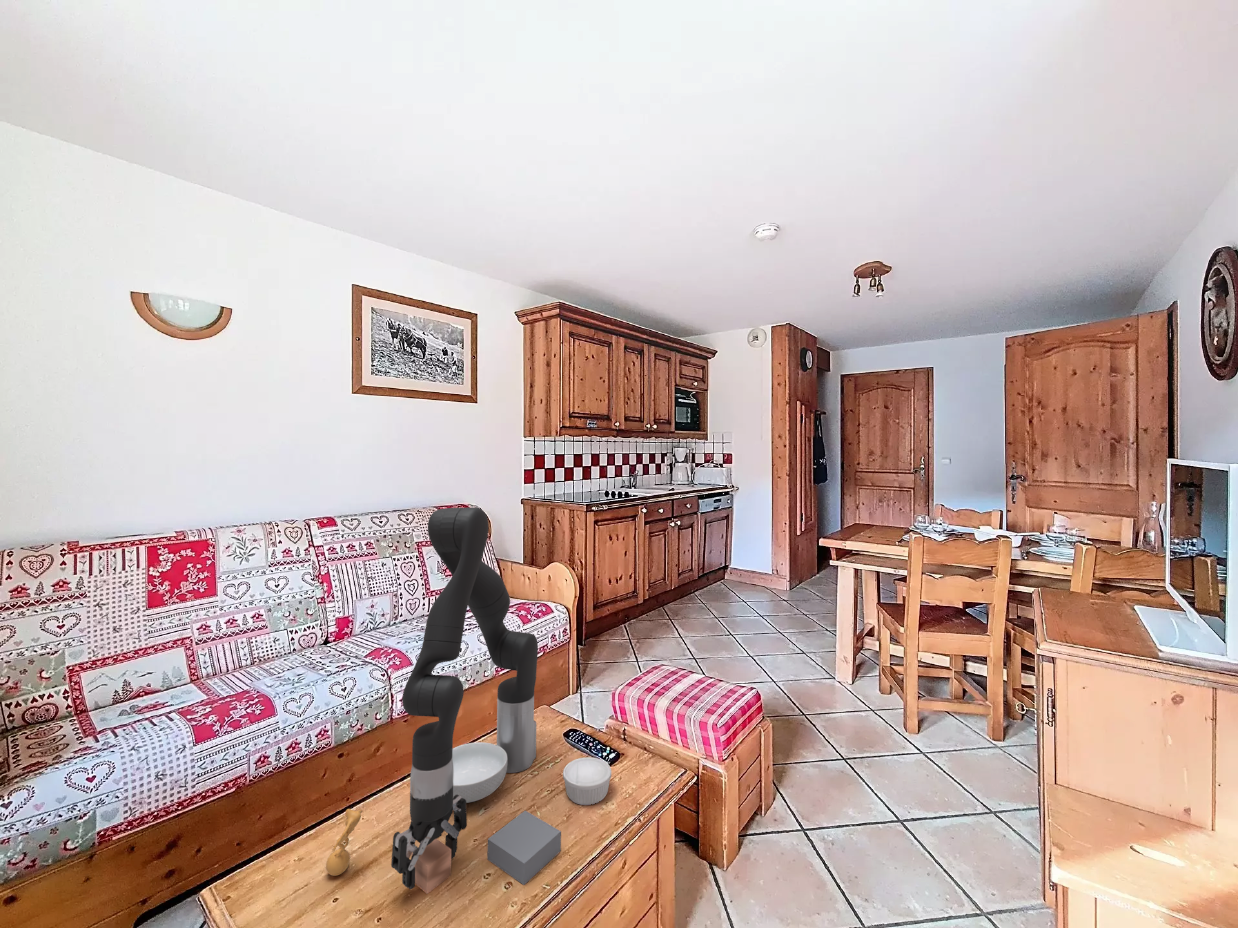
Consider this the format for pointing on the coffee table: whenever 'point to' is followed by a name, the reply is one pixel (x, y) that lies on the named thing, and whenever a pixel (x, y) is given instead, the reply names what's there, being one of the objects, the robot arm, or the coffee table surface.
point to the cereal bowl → (478, 770)
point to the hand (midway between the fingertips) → (430, 870)
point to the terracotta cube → (433, 866)
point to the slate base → (524, 846)
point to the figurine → (341, 856)
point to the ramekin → (587, 780)
